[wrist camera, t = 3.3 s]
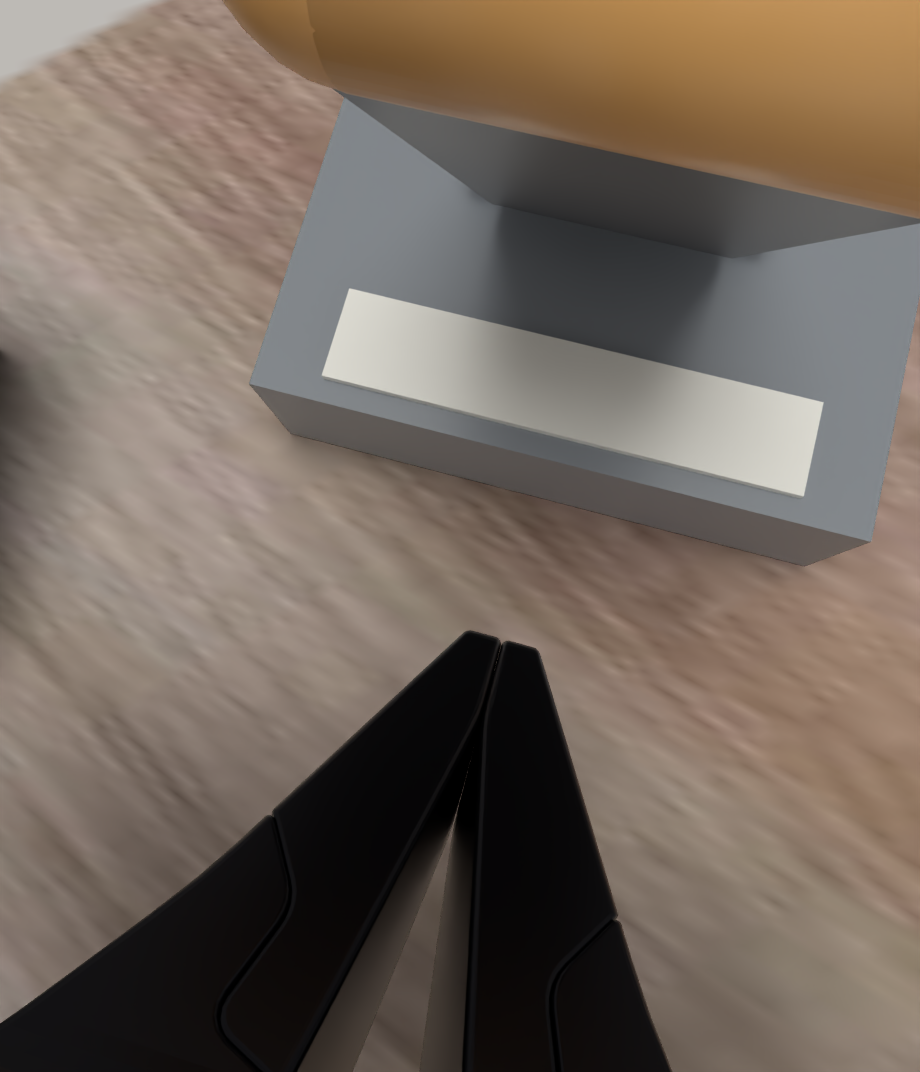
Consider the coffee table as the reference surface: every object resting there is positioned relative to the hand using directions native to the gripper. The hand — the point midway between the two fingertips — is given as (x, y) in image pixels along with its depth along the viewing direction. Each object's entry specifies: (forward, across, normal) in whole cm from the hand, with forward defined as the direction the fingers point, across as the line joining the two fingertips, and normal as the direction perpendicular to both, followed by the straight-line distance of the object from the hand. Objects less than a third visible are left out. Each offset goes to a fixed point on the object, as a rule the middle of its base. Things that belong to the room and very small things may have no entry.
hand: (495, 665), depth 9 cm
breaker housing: (+14, 0, +1) cm, 14 cm away
